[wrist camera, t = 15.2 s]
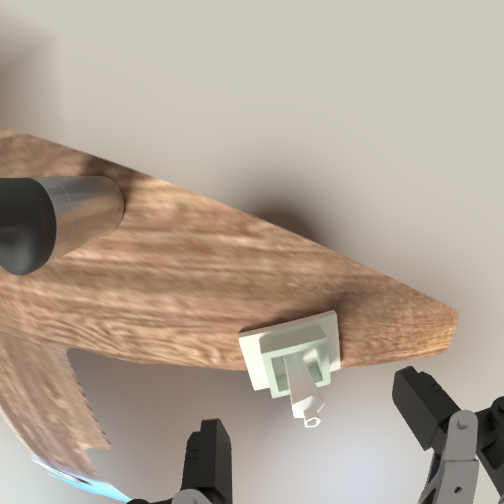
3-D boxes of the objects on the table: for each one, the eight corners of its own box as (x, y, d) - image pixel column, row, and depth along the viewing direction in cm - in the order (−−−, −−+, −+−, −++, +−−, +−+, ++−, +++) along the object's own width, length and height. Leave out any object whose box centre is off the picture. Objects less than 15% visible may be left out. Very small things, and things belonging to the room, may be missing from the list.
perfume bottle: (285, 342, 42) (306, 408, 27) (308, 349, 42) (335, 413, 28) (272, 363, 43) (287, 430, 28) (295, 369, 43) (315, 434, 29)
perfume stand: (253, 385, 46) (255, 405, 40) (238, 333, 42) (238, 352, 37) (337, 363, 46) (347, 382, 40) (333, 309, 42) (345, 325, 37)
